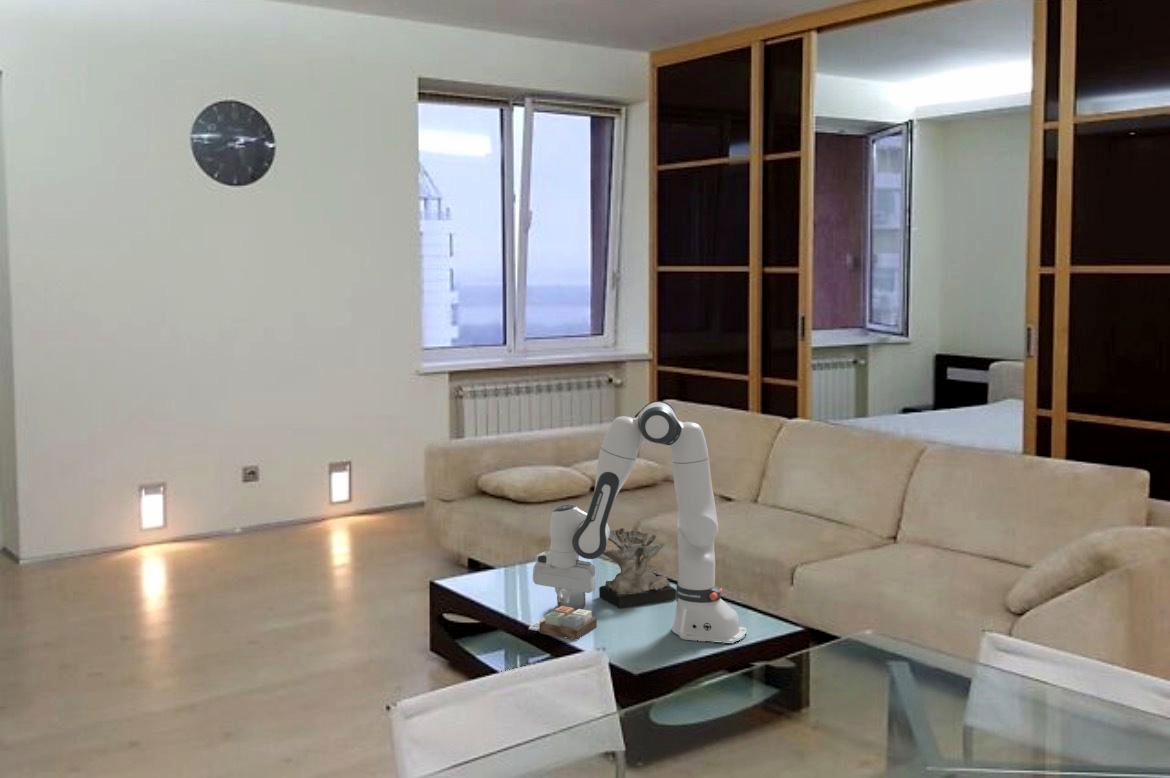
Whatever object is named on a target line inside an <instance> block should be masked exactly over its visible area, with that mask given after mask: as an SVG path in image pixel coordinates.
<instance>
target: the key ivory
mask: <svg viewBox="0 0 1170 778" xmlns="http://www.w3.org/2000/svg"><path fill="white" fill-rule="evenodd" d="M592 614H593V613H592V610H588V609H578V610H574V612H573V613H572V615H576V616H582V623H586V622H588V621H590V620H591V619H592V617H593V616H592Z"/></svg>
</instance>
